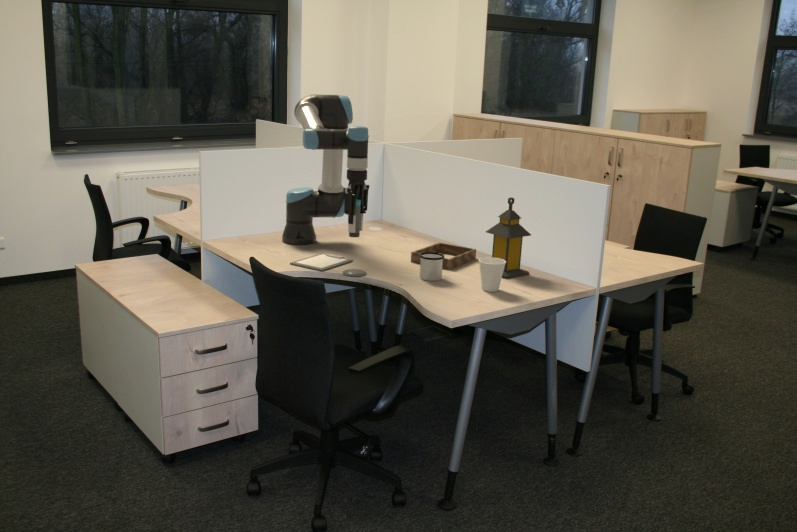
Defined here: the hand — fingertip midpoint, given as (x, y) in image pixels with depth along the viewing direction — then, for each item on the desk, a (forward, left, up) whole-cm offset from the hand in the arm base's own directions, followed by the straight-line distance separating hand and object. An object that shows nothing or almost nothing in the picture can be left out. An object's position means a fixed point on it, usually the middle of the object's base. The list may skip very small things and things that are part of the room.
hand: (355, 231), depth 280 cm
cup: (-15, +50, -17) cm, 55 cm away
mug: (-15, +26, -17) cm, 34 cm away
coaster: (0, 0, -17) cm, 17 cm away
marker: (0, -1, -2) cm, 2 cm away
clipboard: (-4, -19, -17) cm, 26 cm away
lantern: (-41, +44, -17) cm, 62 cm away
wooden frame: (-41, +16, -17) cm, 47 cm away
